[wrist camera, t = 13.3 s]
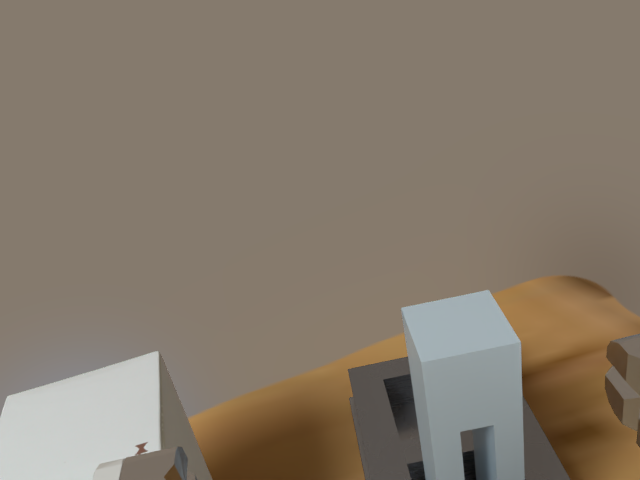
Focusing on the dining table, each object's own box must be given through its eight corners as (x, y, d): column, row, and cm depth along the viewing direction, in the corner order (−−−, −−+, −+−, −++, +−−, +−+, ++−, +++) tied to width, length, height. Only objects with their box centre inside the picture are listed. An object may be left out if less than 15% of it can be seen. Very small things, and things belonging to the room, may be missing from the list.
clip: (526, 555, 29) (521, 342, 23) (448, 571, 29) (421, 362, 23) (499, 492, 32) (488, 290, 26) (429, 506, 32) (401, 308, 26)
